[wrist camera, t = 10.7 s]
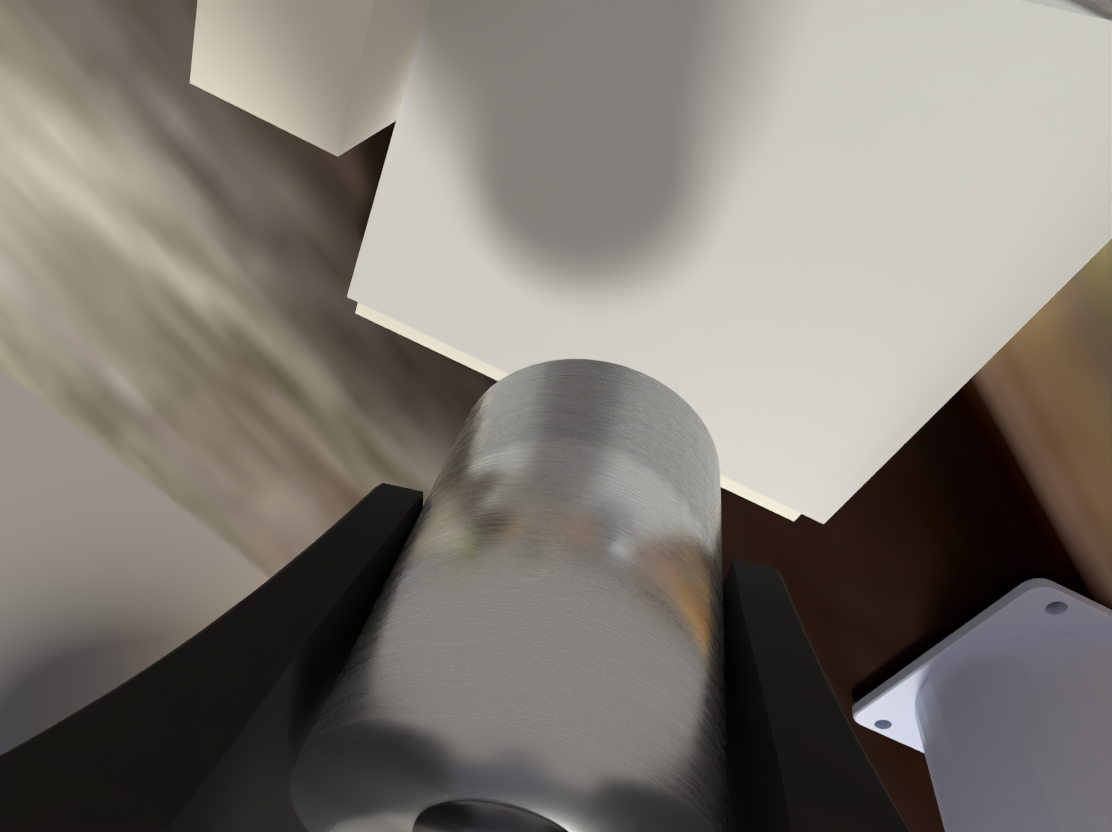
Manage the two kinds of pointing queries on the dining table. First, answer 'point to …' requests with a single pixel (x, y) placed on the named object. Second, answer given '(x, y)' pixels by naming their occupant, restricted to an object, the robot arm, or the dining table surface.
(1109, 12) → the cylinder
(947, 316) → the scale
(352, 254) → the dining table surface
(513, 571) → the cylinder
